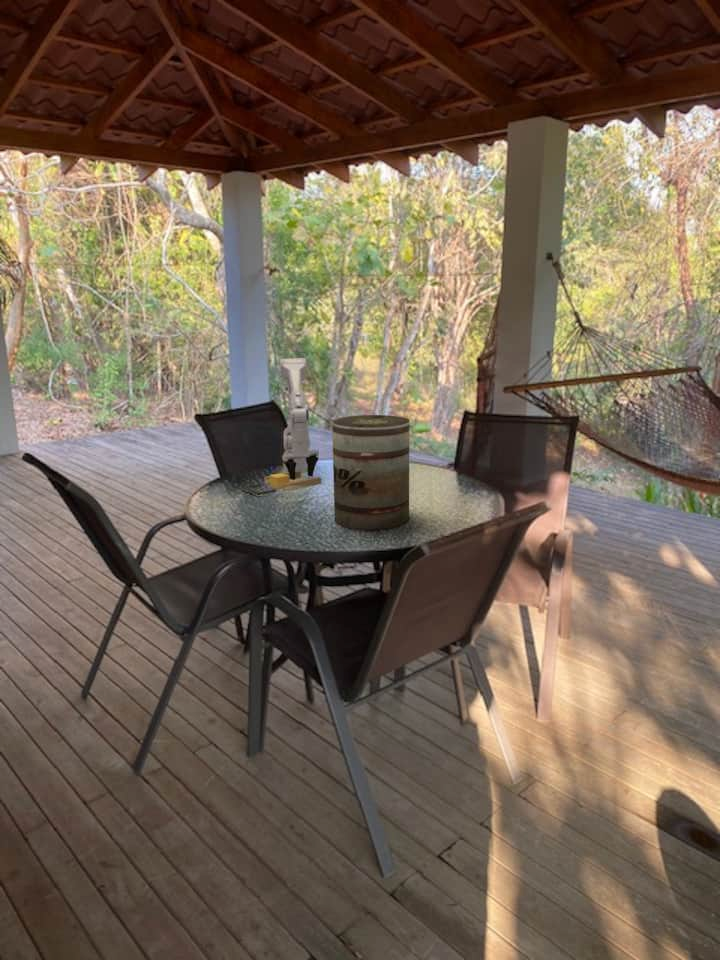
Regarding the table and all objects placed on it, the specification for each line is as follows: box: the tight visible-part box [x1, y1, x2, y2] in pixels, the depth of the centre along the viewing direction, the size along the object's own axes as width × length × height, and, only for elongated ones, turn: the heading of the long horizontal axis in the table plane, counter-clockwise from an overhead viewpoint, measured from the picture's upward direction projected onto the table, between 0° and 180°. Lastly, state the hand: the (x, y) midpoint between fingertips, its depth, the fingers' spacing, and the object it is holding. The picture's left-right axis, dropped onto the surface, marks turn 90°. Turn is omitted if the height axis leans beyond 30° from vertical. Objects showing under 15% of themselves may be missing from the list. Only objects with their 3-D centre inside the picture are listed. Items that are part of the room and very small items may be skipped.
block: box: [269, 472, 290, 489], centre depth 237 cm, size 5×5×4 cm
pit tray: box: [241, 483, 276, 495], centre depth 233 cm, size 11×7×1 cm, turn 38°
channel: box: [263, 471, 322, 492], centre depth 241 cm, size 14×15×3 cm
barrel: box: [331, 414, 410, 532], centre depth 197 cm, size 22×22×30 cm
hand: (301, 477), depth 243 cm, fingers open, 7 cm apart
